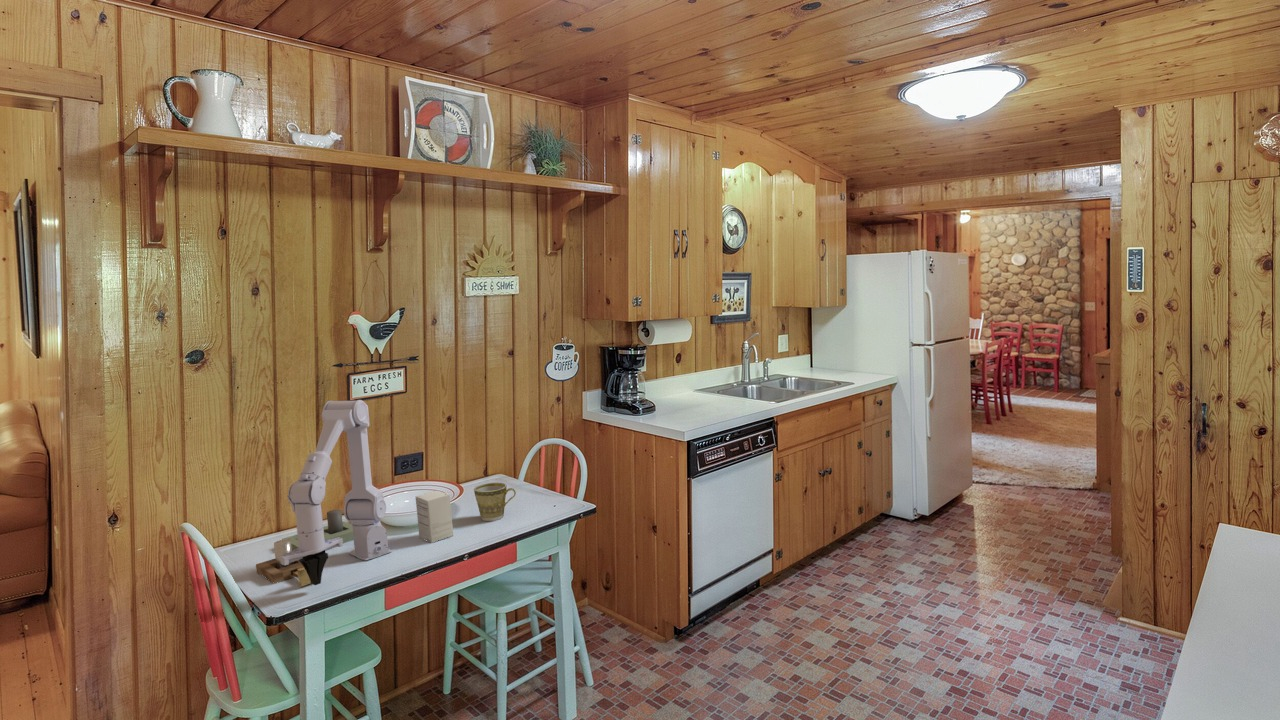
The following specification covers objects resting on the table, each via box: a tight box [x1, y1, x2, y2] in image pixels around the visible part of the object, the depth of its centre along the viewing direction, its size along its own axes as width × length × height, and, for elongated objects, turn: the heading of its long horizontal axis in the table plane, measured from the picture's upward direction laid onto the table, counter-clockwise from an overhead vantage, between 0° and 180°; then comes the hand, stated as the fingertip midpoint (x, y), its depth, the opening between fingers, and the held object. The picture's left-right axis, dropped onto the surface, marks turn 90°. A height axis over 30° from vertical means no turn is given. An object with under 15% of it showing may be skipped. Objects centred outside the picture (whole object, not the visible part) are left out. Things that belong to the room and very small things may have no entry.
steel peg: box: [273, 539, 293, 572], centre depth 184 cm, size 4×4×8 cm
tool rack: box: [281, 509, 354, 551], centre depth 206 cm, size 12×18×8 cm, turn 138°
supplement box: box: [415, 490, 454, 544], centre depth 205 cm, size 7×7×13 cm
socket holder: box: [255, 558, 303, 584], centre depth 185 cm, size 12×10×2 cm
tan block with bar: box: [293, 567, 311, 587], centre depth 177 cm, size 8×4×4 cm, turn 48°
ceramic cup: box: [473, 481, 517, 522], centre depth 220 cm, size 13×10×10 cm
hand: (315, 583), depth 171 cm, fingers closed
